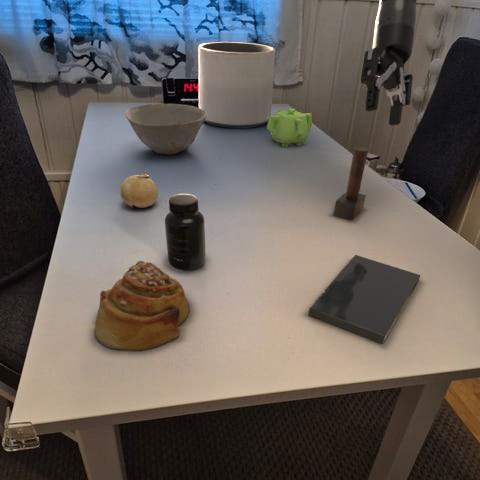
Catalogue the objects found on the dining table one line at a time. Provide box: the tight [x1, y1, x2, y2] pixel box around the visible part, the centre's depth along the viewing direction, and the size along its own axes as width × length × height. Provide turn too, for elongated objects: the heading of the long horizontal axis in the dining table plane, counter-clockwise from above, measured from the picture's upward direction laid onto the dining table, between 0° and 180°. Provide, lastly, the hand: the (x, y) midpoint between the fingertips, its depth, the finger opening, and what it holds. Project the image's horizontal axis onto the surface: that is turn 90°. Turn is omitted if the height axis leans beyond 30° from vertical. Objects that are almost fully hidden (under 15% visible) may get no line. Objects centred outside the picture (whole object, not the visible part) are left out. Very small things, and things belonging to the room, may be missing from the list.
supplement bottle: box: [164, 193, 207, 271], centre depth 77 cm, size 7×7×12 cm
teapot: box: [266, 107, 313, 148], centre depth 136 cm, size 12×12×10 cm
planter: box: [197, 41, 276, 129], centre depth 150 cm, size 25×25×22 cm
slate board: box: [307, 254, 421, 345], centre depth 74 cm, size 20×12×2 cm, turn 148°
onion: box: [119, 170, 159, 209], centre depth 97 cm, size 8×8×7 cm
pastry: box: [94, 260, 191, 351], centre depth 65 cm, size 13×15×8 cm
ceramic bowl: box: [124, 103, 207, 156], centre depth 126 cm, size 22×23×10 cm
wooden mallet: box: [333, 146, 369, 221], centre depth 96 cm, size 7×4×14 cm, turn 148°
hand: (383, 117), depth 88 cm, fingers open, 8 cm apart
